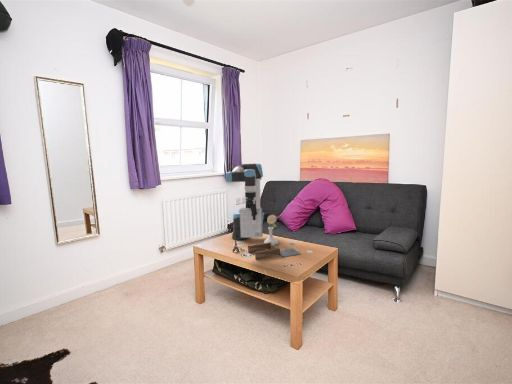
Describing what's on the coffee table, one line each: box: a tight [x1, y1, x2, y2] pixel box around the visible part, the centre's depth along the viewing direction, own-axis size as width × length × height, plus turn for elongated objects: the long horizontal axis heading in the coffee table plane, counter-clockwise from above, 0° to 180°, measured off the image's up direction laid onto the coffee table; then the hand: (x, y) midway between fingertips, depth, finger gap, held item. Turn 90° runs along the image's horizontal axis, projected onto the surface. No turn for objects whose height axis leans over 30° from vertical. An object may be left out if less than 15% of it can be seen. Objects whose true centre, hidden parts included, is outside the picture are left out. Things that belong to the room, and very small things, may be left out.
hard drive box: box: [239, 207, 264, 239], centre depth 192 cm, size 16×8×20 cm, turn 85°
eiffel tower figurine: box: [232, 235, 246, 253], centre depth 205 cm, size 15×10×13 cm
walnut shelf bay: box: [247, 242, 281, 261], centre depth 198 cm, size 16×18×5 cm
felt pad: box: [280, 248, 302, 258], centre depth 199 cm, size 12×14×1 cm
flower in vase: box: [263, 214, 279, 246], centre depth 217 cm, size 13×11×25 cm
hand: (251, 222), depth 192 cm, fingers closed on hard drive box, 10 cm apart
